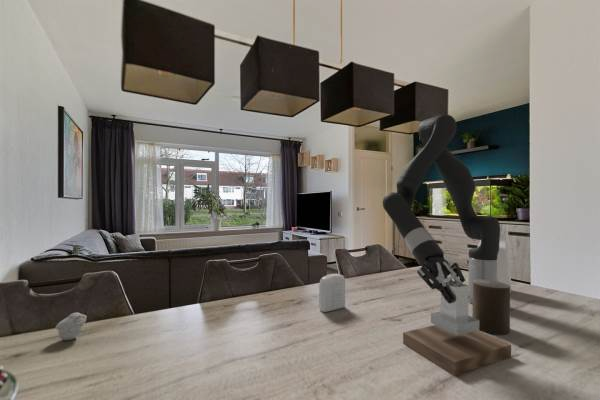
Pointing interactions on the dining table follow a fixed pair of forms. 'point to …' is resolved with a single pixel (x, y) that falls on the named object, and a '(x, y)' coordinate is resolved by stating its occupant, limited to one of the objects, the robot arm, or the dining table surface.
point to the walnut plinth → (456, 348)
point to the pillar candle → (492, 306)
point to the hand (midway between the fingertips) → (459, 300)
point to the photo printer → (331, 292)
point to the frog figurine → (71, 326)
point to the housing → (455, 311)
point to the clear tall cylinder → (503, 261)
